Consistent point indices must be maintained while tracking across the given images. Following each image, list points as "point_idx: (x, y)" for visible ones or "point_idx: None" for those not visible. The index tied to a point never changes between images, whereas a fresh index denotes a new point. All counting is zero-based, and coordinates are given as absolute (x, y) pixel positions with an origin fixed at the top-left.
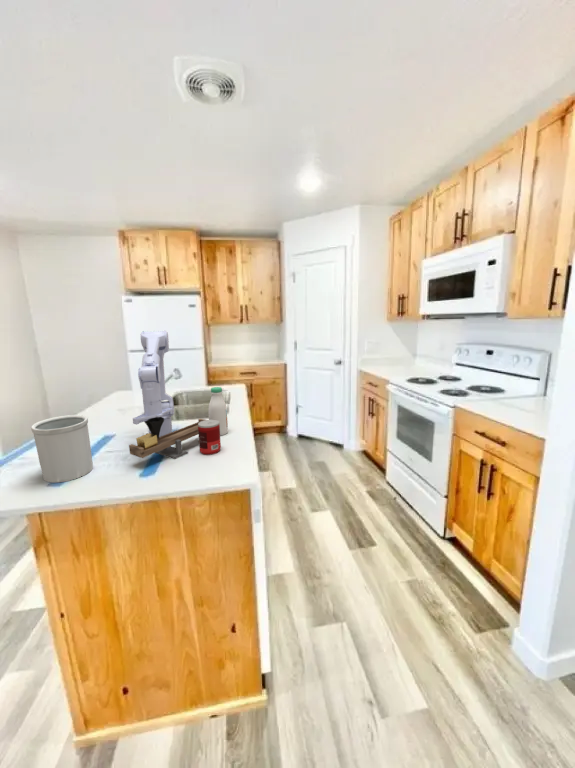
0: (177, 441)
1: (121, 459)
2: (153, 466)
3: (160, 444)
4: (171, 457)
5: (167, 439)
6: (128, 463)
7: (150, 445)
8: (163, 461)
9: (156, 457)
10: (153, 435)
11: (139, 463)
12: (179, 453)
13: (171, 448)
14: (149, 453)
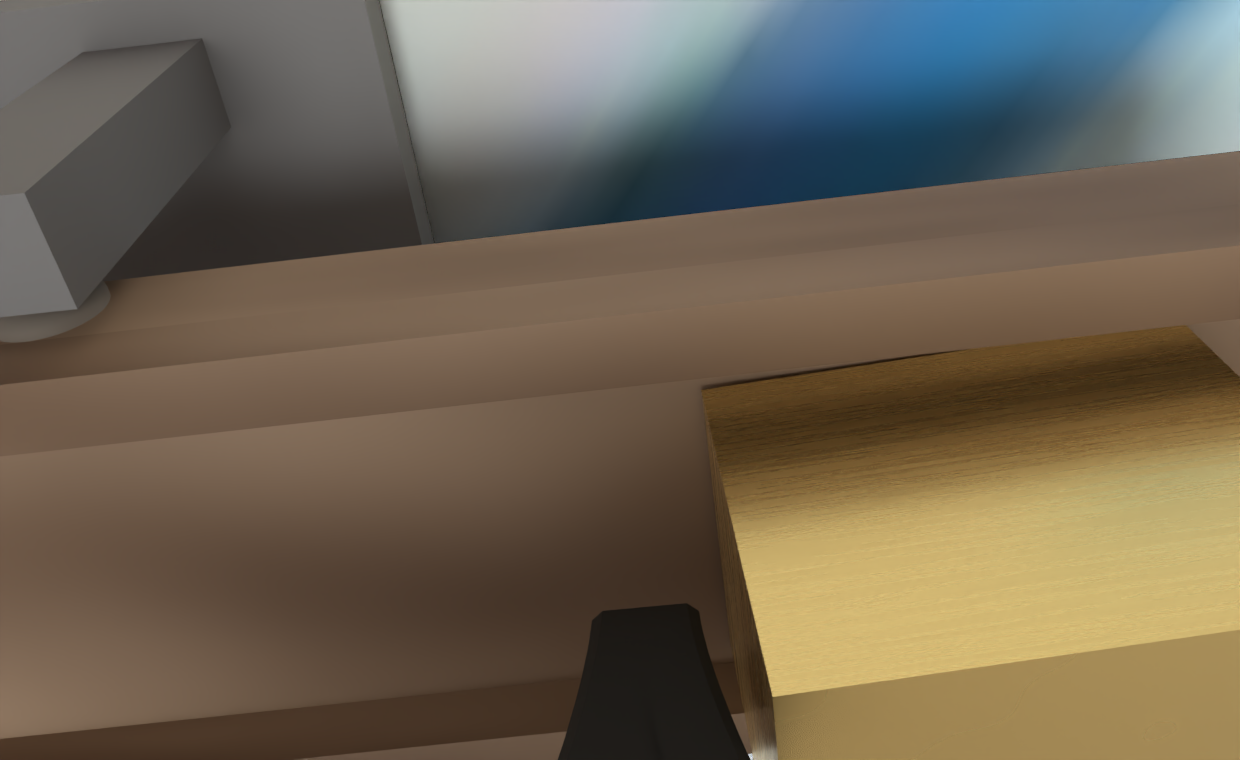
0: (24, 188)
1: None
2: (939, 12)
3: (682, 324)
4: (396, 93)
5: (232, 591)
6: None
7: (1026, 418)
8: (629, 77)
9: None
10: (875, 738)
11: None
12: (162, 45)
13: None
14: (1118, 189)
